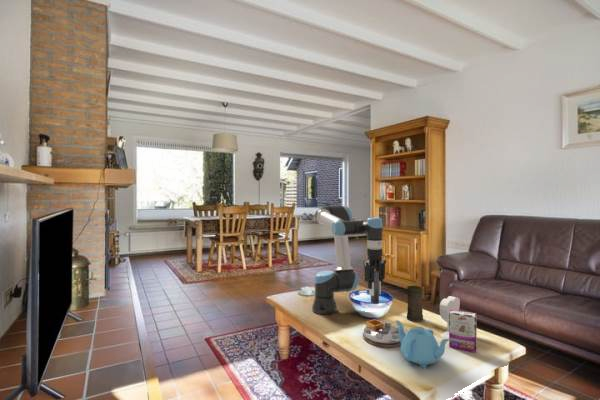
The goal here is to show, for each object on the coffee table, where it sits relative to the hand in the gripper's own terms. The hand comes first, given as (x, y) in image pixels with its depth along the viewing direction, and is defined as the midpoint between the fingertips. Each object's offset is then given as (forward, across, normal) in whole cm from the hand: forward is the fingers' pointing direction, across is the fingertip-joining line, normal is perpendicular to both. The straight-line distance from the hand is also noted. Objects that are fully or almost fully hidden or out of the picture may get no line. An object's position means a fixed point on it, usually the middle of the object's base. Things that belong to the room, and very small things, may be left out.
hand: (374, 294), depth 166 cm
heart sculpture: (+21, +33, -19) cm, 43 cm away
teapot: (+21, -2, -30) cm, 36 cm away
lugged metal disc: (+19, 0, -6) cm, 20 cm away
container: (+21, +33, +3) cm, 39 cm away
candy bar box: (+21, +24, -32) cm, 45 cm away
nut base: (+20, 0, -6) cm, 21 cm away
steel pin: (+4, 0, 0) cm, 4 cm away
